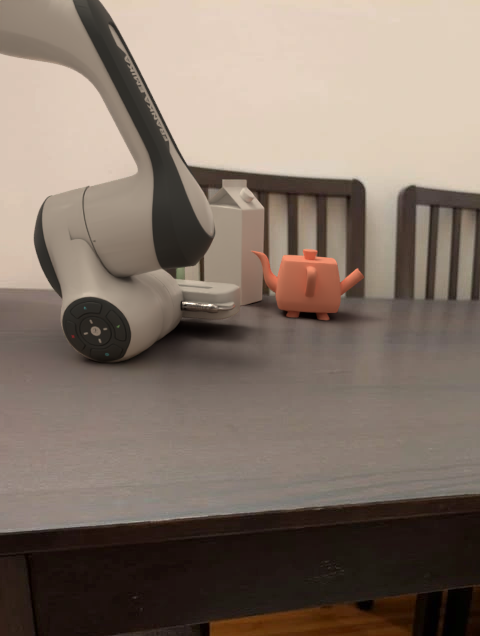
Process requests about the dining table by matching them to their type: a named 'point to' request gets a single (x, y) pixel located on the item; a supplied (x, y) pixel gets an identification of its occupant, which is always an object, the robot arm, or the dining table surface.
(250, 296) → the milk carton
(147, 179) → the robot arm
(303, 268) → the teapot
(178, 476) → the dining table surface
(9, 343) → the dining table surface
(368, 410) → the dining table surface
